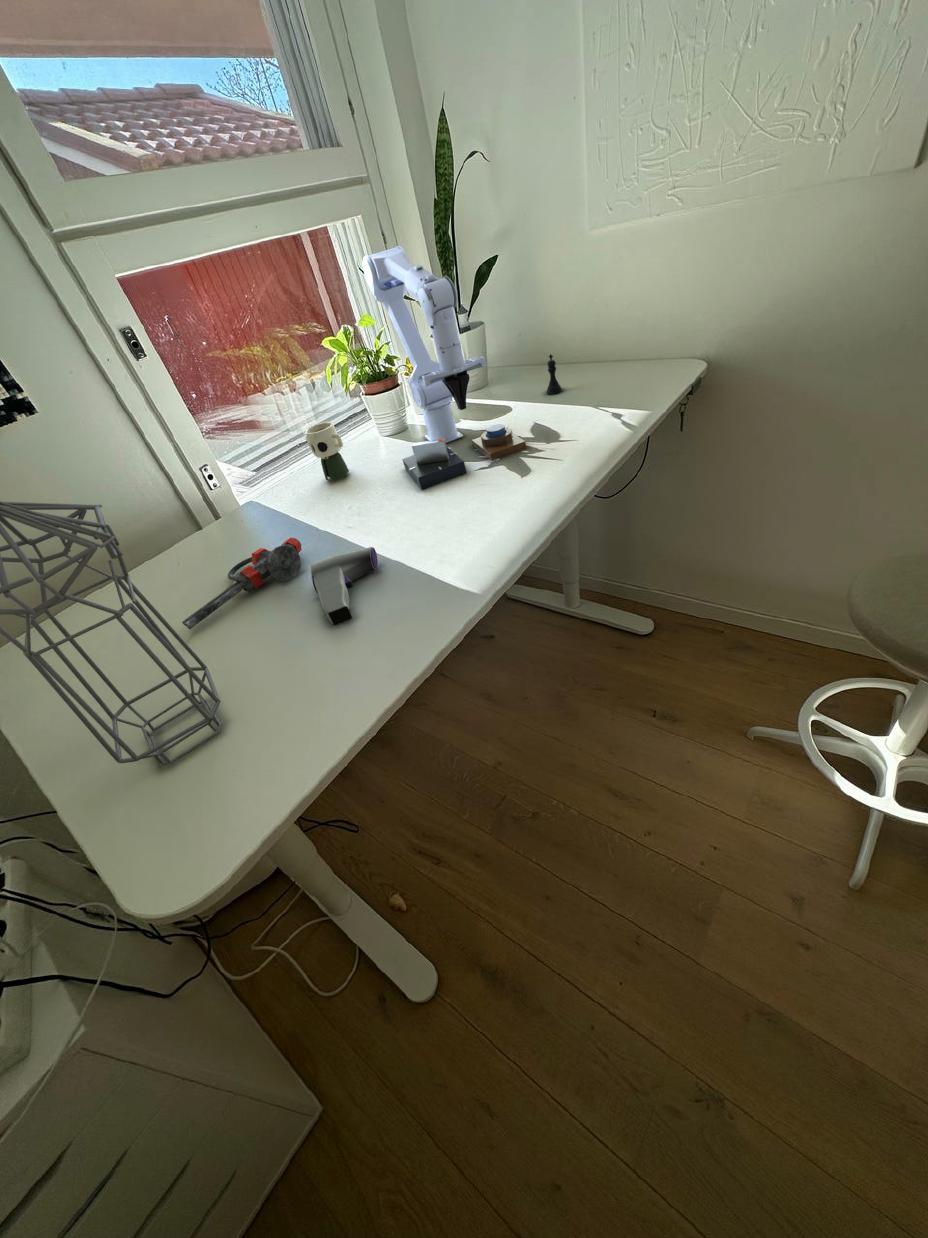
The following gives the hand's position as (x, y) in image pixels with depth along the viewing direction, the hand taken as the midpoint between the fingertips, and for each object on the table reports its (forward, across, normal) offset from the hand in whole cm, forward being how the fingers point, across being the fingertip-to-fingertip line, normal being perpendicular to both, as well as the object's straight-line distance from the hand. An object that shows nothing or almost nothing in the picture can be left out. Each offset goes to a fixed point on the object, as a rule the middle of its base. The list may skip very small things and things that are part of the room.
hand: (462, 408), depth 121 cm
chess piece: (+10, +34, +21) cm, 41 cm away
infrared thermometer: (+11, -38, -41) cm, 57 cm away
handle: (+7, -11, -5) cm, 14 cm away
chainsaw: (+11, -57, -25) cm, 63 cm away
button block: (+10, +6, -3) cm, 12 cm away
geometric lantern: (+12, -66, -59) cm, 90 cm away
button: (+7, +6, -3) cm, 10 cm away
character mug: (+10, -32, +14) cm, 36 cm away
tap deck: (+10, -11, -4) cm, 16 cm away
